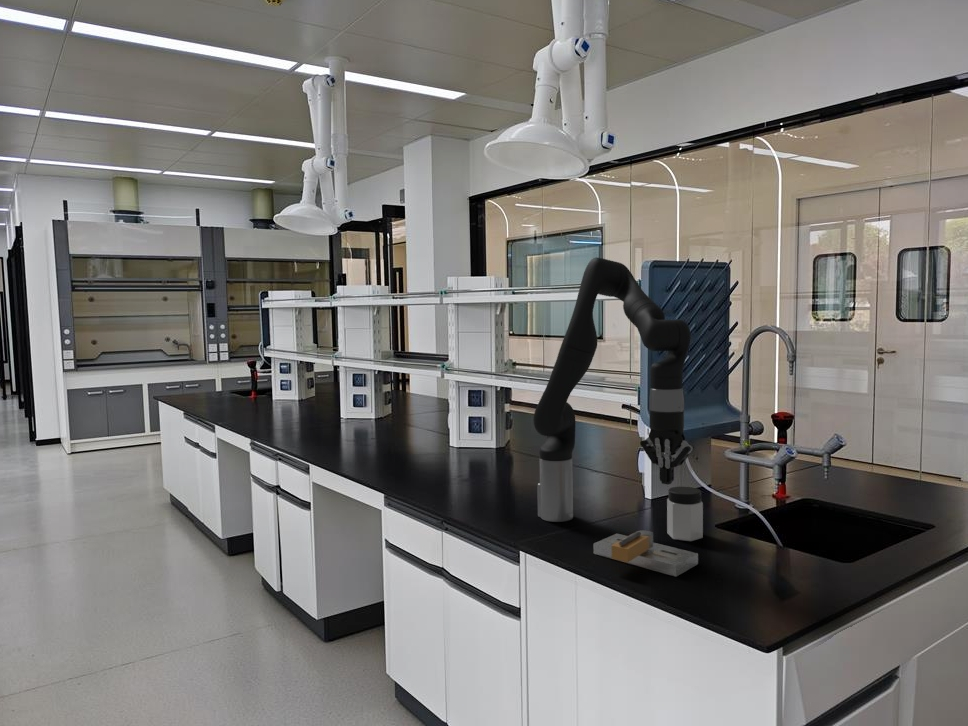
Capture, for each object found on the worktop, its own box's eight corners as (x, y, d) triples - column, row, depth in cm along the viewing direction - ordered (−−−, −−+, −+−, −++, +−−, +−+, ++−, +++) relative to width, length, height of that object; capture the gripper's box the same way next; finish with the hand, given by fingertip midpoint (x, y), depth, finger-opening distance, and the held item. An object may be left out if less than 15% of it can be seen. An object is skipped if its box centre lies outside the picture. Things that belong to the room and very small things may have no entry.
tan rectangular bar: (640, 541, 164) (640, 524, 164) (655, 544, 162) (655, 527, 161) (611, 558, 154) (611, 540, 153) (627, 562, 151) (627, 543, 151)
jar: (707, 541, 173) (707, 494, 172) (675, 542, 173) (675, 495, 172) (694, 529, 182) (694, 485, 181) (663, 531, 182) (663, 486, 181)
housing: (593, 553, 166) (593, 542, 166) (616, 543, 173) (616, 532, 173) (675, 576, 150) (675, 564, 150) (698, 564, 158) (697, 552, 157)
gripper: (632, 407, 157) (632, 482, 158) (685, 412, 148) (685, 491, 149) (649, 404, 162) (650, 476, 163) (701, 408, 153) (701, 485, 154)
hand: (666, 483), depth 156 cm, fingers closed
